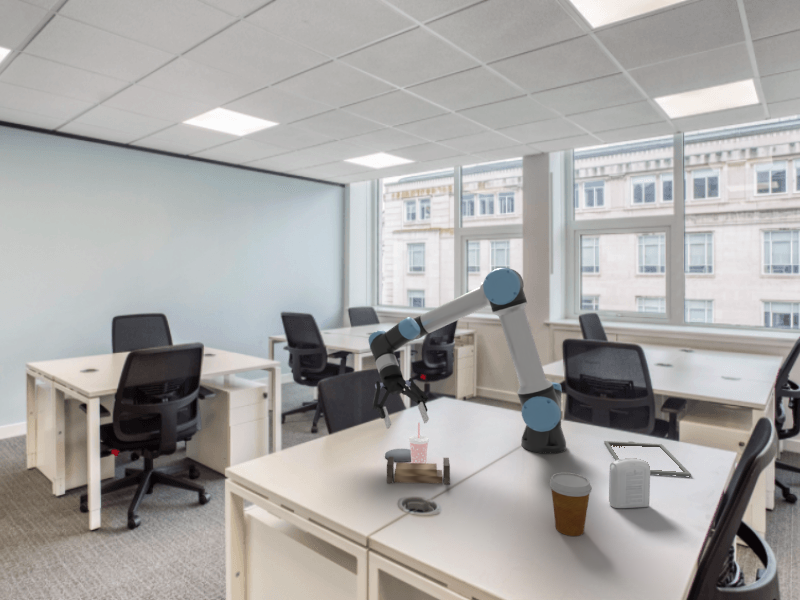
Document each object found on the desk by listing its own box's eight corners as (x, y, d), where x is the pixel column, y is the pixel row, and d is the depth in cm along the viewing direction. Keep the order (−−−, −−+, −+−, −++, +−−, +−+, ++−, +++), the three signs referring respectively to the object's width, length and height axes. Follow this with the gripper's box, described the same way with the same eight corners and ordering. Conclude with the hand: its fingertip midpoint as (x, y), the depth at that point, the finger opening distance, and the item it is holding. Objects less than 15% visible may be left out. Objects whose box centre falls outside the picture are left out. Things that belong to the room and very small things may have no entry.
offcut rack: (448, 475, 148) (448, 457, 148) (449, 484, 142) (449, 465, 142) (388, 474, 149) (388, 456, 149) (386, 483, 143) (386, 464, 143)
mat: (424, 454, 166) (424, 453, 166) (404, 464, 157) (404, 462, 157) (398, 448, 172) (398, 446, 172) (378, 457, 164) (378, 455, 164)
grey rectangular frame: (622, 469, 150) (602, 438, 180) (622, 474, 151) (602, 442, 180) (691, 474, 147) (659, 441, 176) (691, 479, 147) (659, 446, 176)
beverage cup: (409, 462, 159) (409, 419, 158) (428, 463, 158) (428, 420, 158) (409, 470, 152) (409, 425, 152) (428, 470, 152) (428, 425, 152)
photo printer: (642, 500, 132) (642, 454, 131) (652, 507, 127) (653, 460, 127) (606, 502, 130) (606, 456, 130) (615, 510, 126) (616, 462, 125)
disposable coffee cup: (542, 520, 121) (543, 472, 120) (580, 518, 121) (580, 471, 121) (558, 541, 111) (558, 488, 111) (598, 539, 112) (599, 487, 111)
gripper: (417, 373, 181) (437, 424, 168) (353, 379, 170) (369, 434, 157) (424, 361, 176) (445, 413, 163) (358, 366, 165) (376, 422, 152)
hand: (408, 423), depth 160 cm, fingers open, 13 cm apart
